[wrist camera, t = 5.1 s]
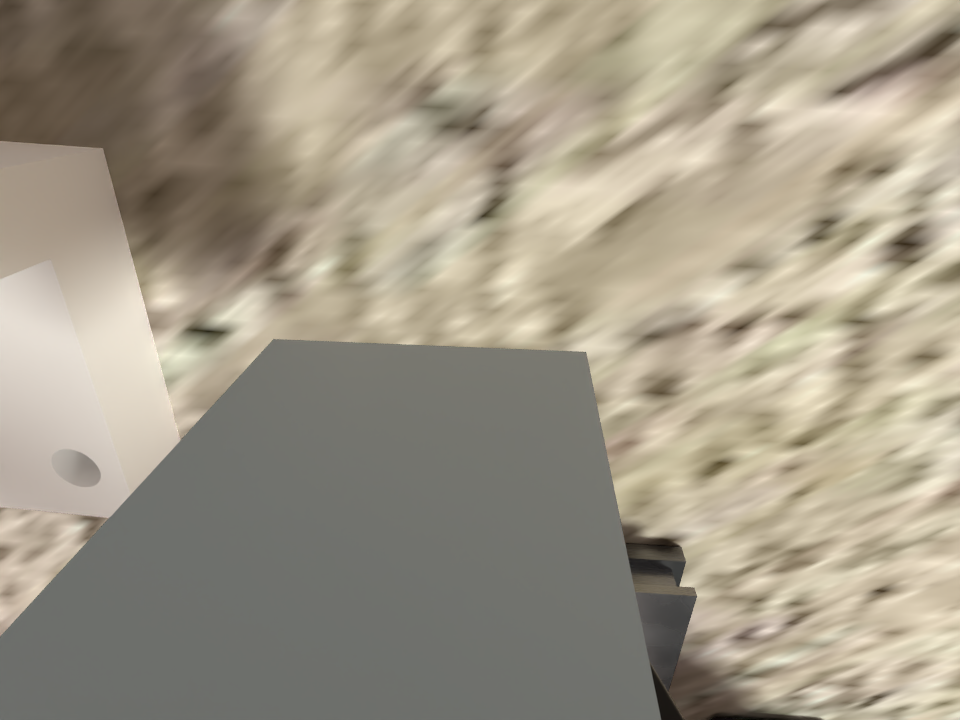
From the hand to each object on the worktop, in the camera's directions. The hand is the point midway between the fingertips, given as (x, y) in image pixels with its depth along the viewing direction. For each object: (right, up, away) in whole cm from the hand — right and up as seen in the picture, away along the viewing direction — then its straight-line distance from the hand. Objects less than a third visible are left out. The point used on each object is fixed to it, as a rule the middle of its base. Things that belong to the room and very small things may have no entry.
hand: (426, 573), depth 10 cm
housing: (0, +1, +1) cm, 1 cm away
